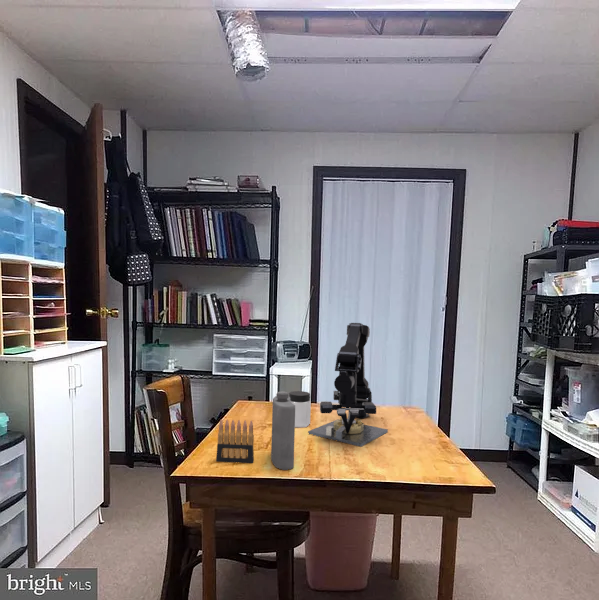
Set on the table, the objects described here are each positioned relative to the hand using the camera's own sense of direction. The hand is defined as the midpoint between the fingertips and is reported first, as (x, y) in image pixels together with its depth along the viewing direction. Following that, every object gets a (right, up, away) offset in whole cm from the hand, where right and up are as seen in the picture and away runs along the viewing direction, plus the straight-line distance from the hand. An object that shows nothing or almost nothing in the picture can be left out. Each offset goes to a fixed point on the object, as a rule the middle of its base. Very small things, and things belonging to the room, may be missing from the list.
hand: (347, 432), depth 146 cm
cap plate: (+1, -3, +9) cm, 9 cm away
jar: (-17, -3, +18) cm, 24 cm away
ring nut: (0, -1, +5) cm, 6 cm away
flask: (-22, -2, -20) cm, 30 cm away
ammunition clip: (-35, -2, -22) cm, 41 cm away
